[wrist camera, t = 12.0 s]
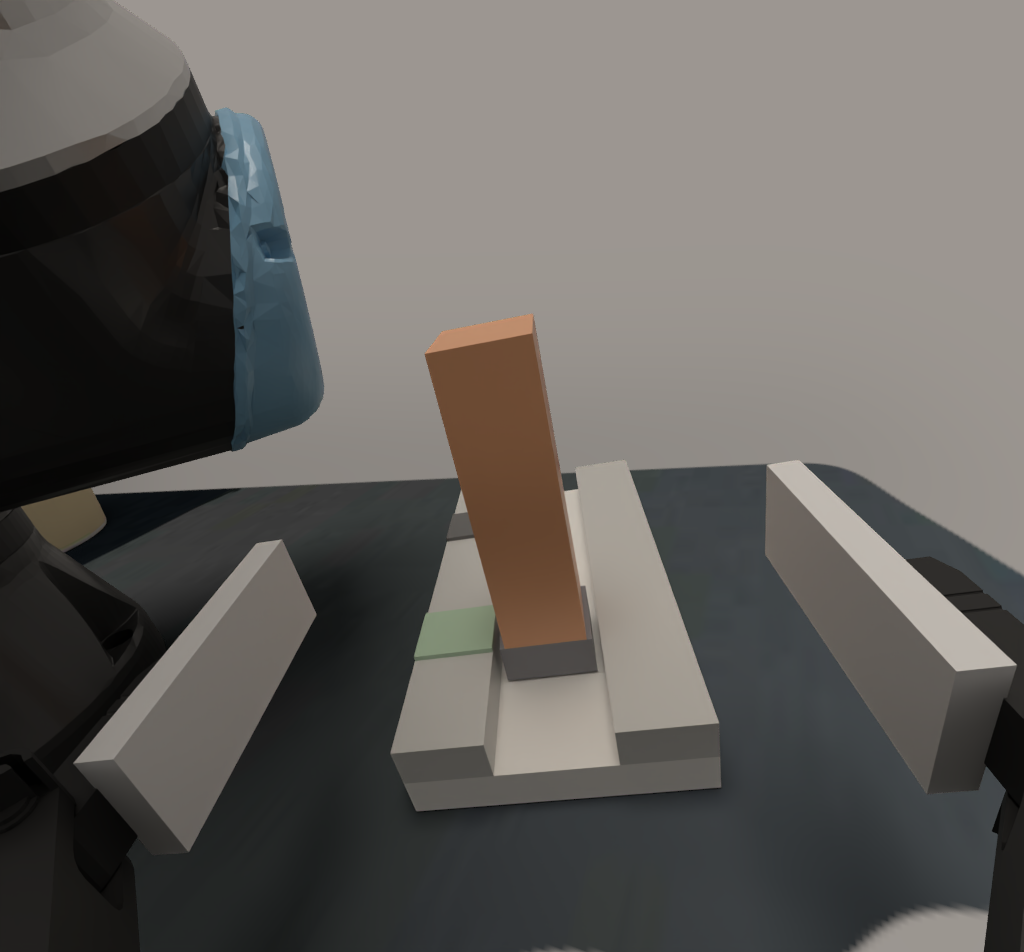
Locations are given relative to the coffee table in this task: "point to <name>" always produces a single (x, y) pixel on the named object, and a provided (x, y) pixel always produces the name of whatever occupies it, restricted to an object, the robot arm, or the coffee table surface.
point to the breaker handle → (514, 493)
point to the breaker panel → (559, 678)
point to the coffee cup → (67, 518)
